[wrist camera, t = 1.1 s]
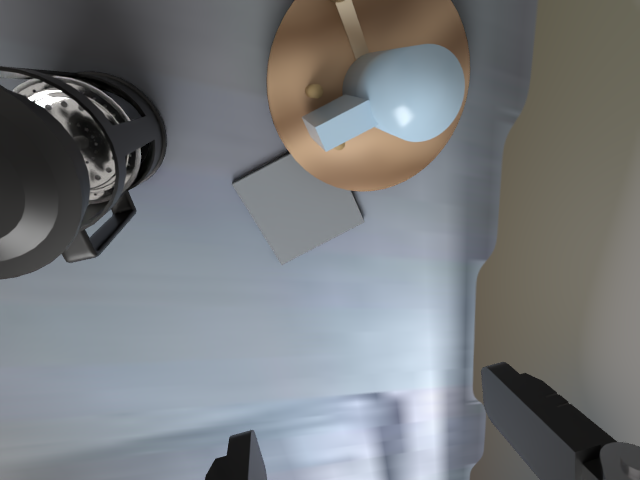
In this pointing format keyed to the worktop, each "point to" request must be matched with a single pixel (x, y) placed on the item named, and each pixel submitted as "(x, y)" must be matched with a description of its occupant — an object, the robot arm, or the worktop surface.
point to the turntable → (329, 72)
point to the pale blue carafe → (393, 96)
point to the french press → (69, 164)
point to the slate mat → (296, 207)
